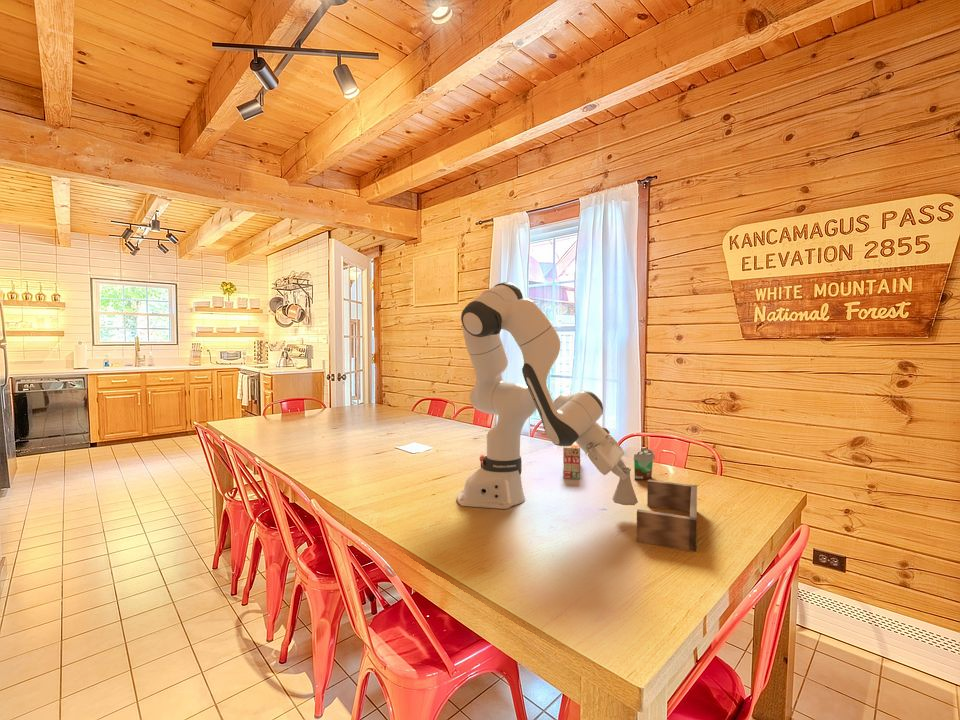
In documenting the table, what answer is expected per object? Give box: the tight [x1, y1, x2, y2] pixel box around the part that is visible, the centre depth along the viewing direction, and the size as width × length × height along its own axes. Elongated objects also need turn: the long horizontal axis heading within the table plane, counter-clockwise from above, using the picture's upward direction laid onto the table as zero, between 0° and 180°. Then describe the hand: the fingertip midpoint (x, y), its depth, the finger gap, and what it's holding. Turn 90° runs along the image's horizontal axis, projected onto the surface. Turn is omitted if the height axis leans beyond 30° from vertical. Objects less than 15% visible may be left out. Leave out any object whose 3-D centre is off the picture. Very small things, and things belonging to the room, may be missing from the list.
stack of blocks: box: [562, 442, 581, 480], centre depth 182 cm, size 21×6×12 cm, turn 167°
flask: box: [612, 466, 639, 506], centre depth 133 cm, size 7×7×10 cm
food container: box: [633, 447, 656, 482], centre depth 172 cm, size 12×6×10 cm, turn 148°
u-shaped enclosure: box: [636, 479, 698, 552], centre depth 128 cm, size 14×29×8 cm, turn 154°
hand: (626, 476), depth 132 cm, fingers closed on flask, 3 cm apart
